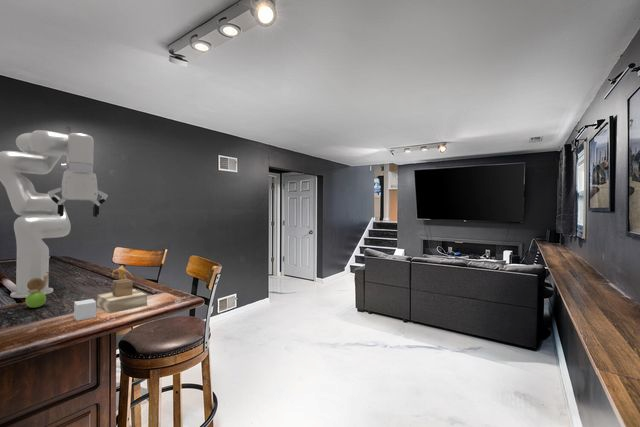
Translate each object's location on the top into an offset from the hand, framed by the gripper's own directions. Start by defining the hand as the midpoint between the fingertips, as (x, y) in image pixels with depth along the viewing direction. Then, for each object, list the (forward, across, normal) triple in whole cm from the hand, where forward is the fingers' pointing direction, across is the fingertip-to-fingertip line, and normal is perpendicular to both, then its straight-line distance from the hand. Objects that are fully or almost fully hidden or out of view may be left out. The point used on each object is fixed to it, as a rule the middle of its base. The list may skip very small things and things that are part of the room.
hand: (78, 216), depth 113 cm
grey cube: (+32, 0, -16) cm, 36 cm away
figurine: (+32, +16, +6) cm, 36 cm away
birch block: (+32, +12, -10) cm, 36 cm away
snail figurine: (+32, -10, +6) cm, 34 cm away
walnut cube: (+28, +12, -10) cm, 32 cm away
